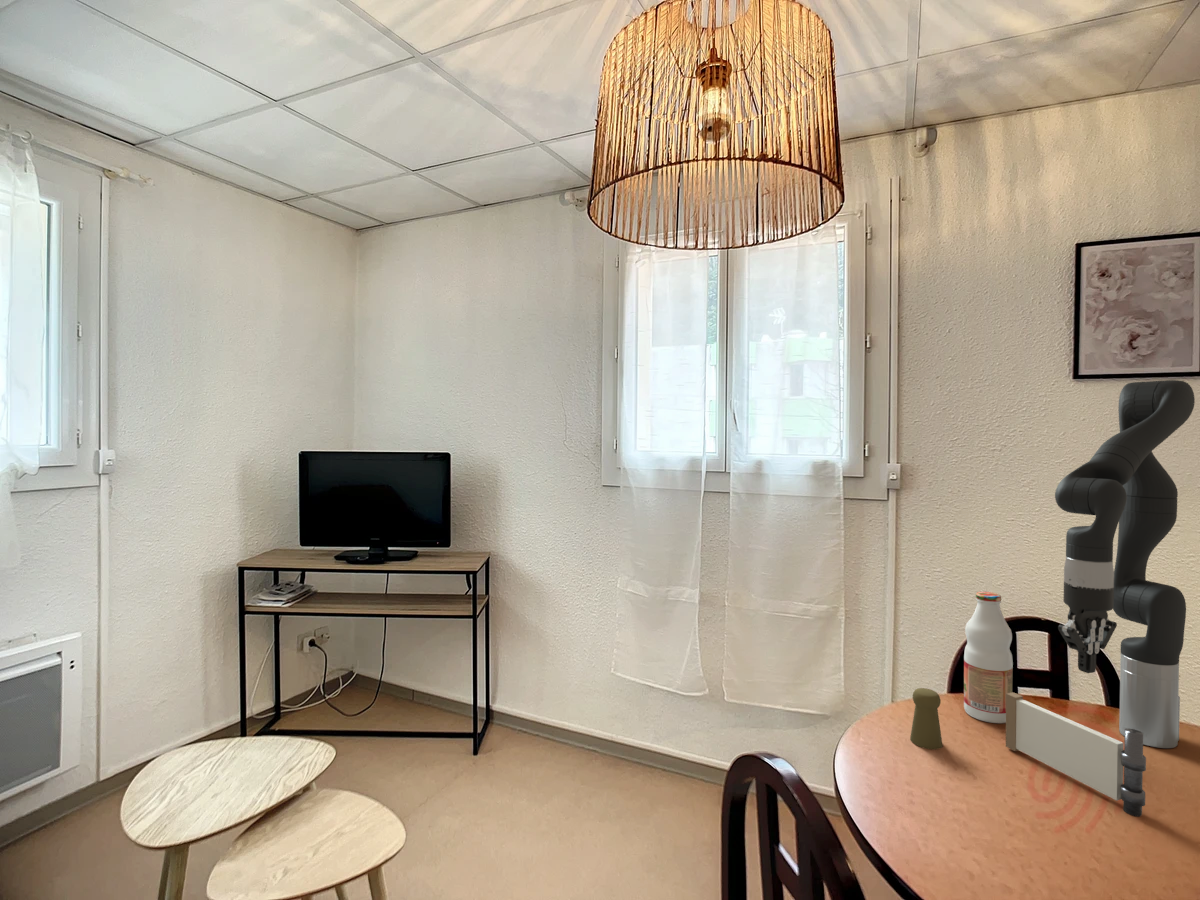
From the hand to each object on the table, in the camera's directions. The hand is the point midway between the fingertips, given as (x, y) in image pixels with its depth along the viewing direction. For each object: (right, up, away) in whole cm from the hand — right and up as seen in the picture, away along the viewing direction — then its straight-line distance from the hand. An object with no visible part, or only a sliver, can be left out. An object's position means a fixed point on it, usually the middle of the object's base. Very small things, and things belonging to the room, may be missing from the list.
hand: (1086, 671), depth 118 cm
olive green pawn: (-25, -19, +11) cm, 33 cm away
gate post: (-2, -20, -13) cm, 23 cm away
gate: (-6, -19, -1) cm, 20 cm away
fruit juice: (-4, -19, +23) cm, 30 cm away
